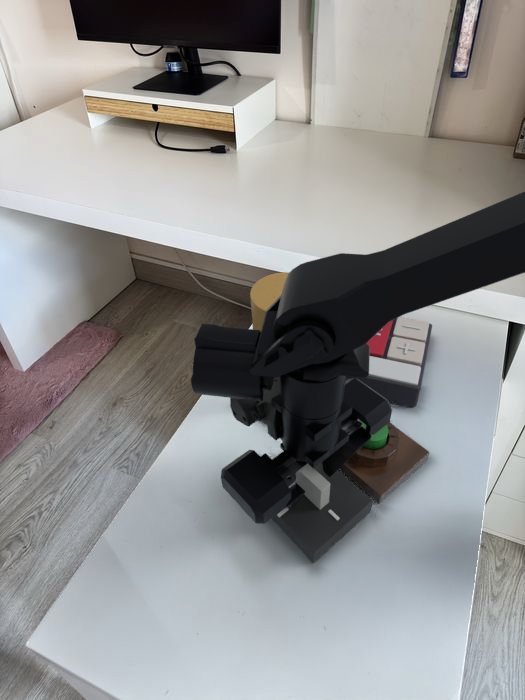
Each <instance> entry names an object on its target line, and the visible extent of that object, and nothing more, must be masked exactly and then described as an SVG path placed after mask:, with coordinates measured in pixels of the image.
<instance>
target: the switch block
mask: <svg viewBox="0 0 525 700" xmlns="http://www.w3.org/2000/svg"><path fill="white" fill-rule="evenodd" d="M359 422H360V421H359ZM387 427H388V436H387V441H386V443H385V445H384V446H383V447H381V448H379V449H375V450H371V449H367V448H364V447H362V448H361V449H359V450H358V451H357V452H356V453H355V454H354V455H353V456H352V457H351V458H350V459H349V460H348V461H347V462H346V463H345V464H344V465H343V466H342V467H340V468H339V469H338V470H339V471H340V472H341V473H342V474H343V475H345V476H346V477H347V478H348V479H349V480H350V481H351V482H353V483H355V485H356V486H357V487H358V488H359V489H361V490H362V491H363V492H364V493H365V494H366V495H368V496H369V497H371V499H372V500H374V501H375V502H376V503H377V504H381V503H382V502H383V501H384V500H385V499H386V498H388V497H389V496H390V495H391V494H392V493H393V492H394V491H395V490H396V489H397V488H399V487H400V486H401V485H402V484H403V483H404V482H405V481H406V480H407V479H409V477H411V476H412V475H413V474H414V473H415V472H416V471H418V469H420V468H421V467H422V466H423V465H425V463H426V462H427V461H428V460H429V456H430V453H431V452H430V451H429V450H428V449H426V448H425V447H423V446H422V445H421V444H420V443H418V442H417V441H416V440H414V439H413V438H411V437H410V436H409V435H407V434H406V433H405V432H403V431H402V430H400V429H399V428H398V427H397V426H396V425H394V424H393V423H391V421H390V422H389V423H388V424H387Z"/></svg>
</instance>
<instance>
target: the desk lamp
mask: <svg viewBox="0 0 525 700" xmlns="http://www.w3.org/2000/svg"><path fill="white" fill-rule="evenodd" d="M290 272H291V271H289V272H288V271H287V272H285V271H283V272H276V273H272V274H268V275H266V276H263V277H262V278H260V279H258V280H257V281H256V282H255V283H254V284H253V285H252V287H251V289H250V293H249V299H250V309H251V311H250V312H251V323H252V324H251V325H252V329H253V330H260V331H261V328H262V324H263V320H264V317H265V313H266V310H267V309H268V308H269V307H270V306H271V305H272V304H273V303H274V302H275V301H276V300H277V299H278V298H279V297H280V296H281V294H282V291H283V287H284V284H285V280H286V278H287V276H288V274H289V273H290Z"/></svg>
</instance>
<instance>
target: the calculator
mask: <svg viewBox="0 0 525 700" xmlns="http://www.w3.org/2000/svg"><path fill="white" fill-rule="evenodd" d="M432 329H433V324H432V323H430V322H429V321H426V320H422V319H421V320H420V319H415V318H411V317H410V318H409V317H404V316H400V317H398V318H396V319H394V320H392V321H390V322H389V323H387V324H386V325H385V326H384V327H383V328H382V329H381V330H380V331H379V332H378V333H377V334H376V335H375V336H374V337H373V338H371V339H370V340H369V341H368V342H367V344H368V345H369V346H370V360H369V375H368V377H365V378H362V377H351V376H346V378H345V381H346V380H348V379H352V378H356V379H358V380H360V381H362V382H363V383H364V384H366V385H367V386H369V387H370V388H372V389H373V390H374V391H376V392H377V393H379V394H380V395H381V396H383V397H384V398H386V399H387V400H388V402H389V403H390V402H391V403H394V404H399V405H404V406H407V407H412V408H415V407H417V405H418V401H419V397H420V393H421V389H422V384H423V378H424V373H425V368H426V361H427V357H428V351H429V344H430V339H431V334H432Z"/></svg>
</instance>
